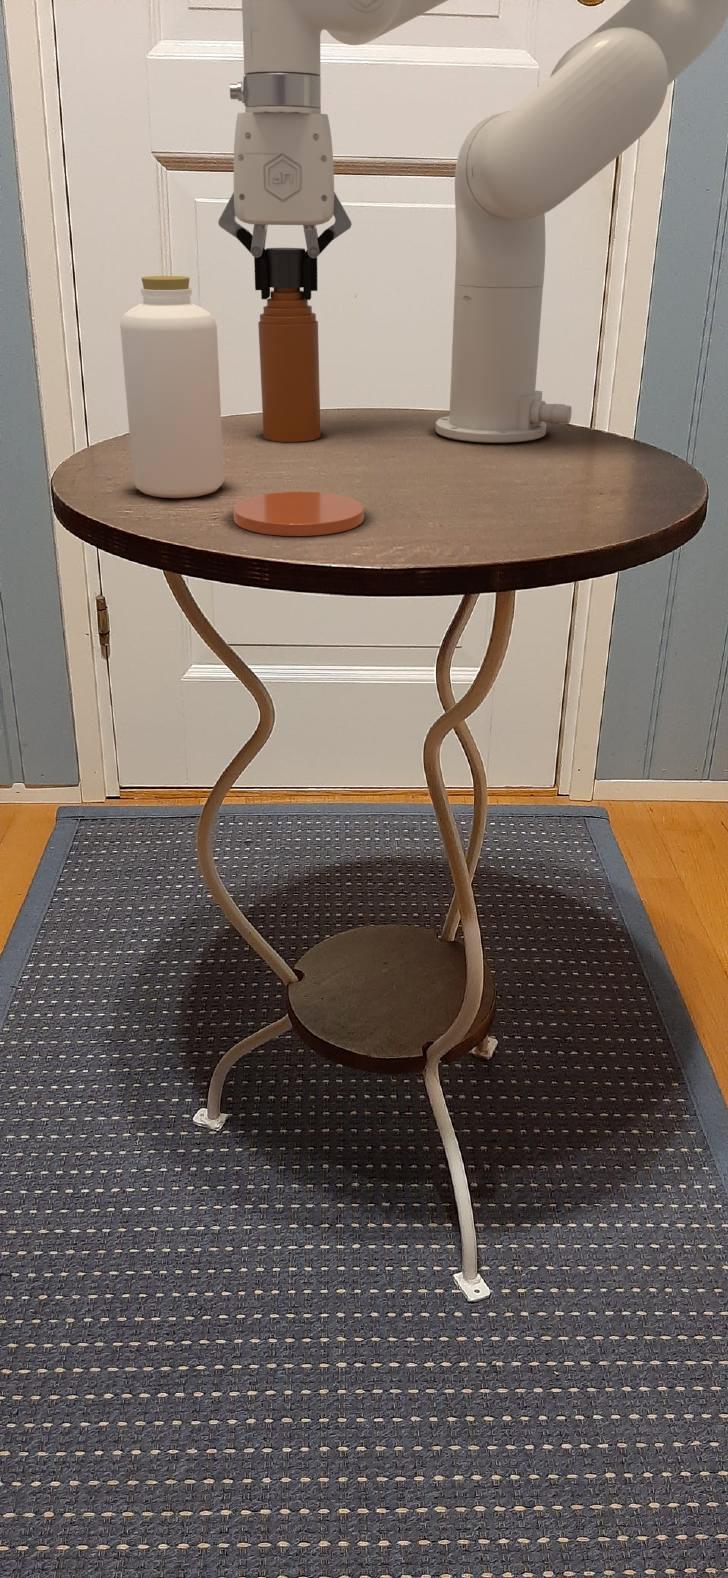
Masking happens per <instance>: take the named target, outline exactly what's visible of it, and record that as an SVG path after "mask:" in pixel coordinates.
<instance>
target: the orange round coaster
mask: <svg viewBox="0 0 728 1578" xmlns="http://www.w3.org/2000/svg"><path fill="white" fill-rule="evenodd" d="M232 509H233V510H232V511H233V522H234V523H235V524H236V525H237V526H238V527H240V528H241V529H244V530H247V531H250V532H254V533H257V534H258V533H259V534H264V535H270V536H279V537H280V536H281V537H312V536H313V537H314V536H315V537H316V536H325V535H332V534H338V533H342V532H345V531H350V530H352V529H355V528H357V527H359V526H360V525H362V523H363V522H364V520H365V507H364V505H363V504H362V503H361V501H358V500H357V499H354V498H351V497H348V496H344V495H340V494H335V493H329V492H328V493H326V492H316V491H315V492H314V491H286V492H285V491H284V492H283V491H282V492H272V493H266V494H259V495H255V496H250V497H248V498H244V499H242V500H240V501H237V503H235V504H234V506H233V508H232Z"/></svg>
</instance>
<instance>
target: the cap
mask: <svg viewBox="0 0 728 1578" xmlns="http://www.w3.org/2000/svg"><path fill="white" fill-rule="evenodd" d="M265 250H266V259H268V287H270V289H271V288H272V289H274V288H300V289H303V259H305V252H306V249H305V248H303V247H265Z"/></svg>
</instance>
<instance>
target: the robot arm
mask: <svg viewBox="0 0 728 1578" xmlns="http://www.w3.org/2000/svg"><path fill="white" fill-rule="evenodd" d="M448 1H449V0H241V8H242V9H241V12H242V13H241V14H242V15H241V16H242V43H243V44H242V45H243V49H242V50H243V74H244V75H243V77H242V78H243V79H241V80H240V82H237V83H229V97H230V98H229V99H230V100H237V101H238V102H241V103H242V104H244V105H243V106H244V107H245V108H244V109H245V110H244V111H245V112H238V113H237V115H236V123H235V130H234V144H233V192H232V194H231V196H230V198H229V200H228V202H227V204H226V206H225V208H224V210H223V212H222V213H221V214H220V217H219V218H218V222H217V223H218V226H219V228H221V229H223V230H224V231H225V232H227V233H228V234H230V235H231V236H232V237H234V238H235V239H237V240H238V241H239V242H240V243H241V244H242V245H243V247H244V248H245V249H246V250H247V251H248V252H249V253H250V254H251V256H252V257H253V263H254V265H253V266H254V267H253V268H254V289H255V291H260V295H261V297H260V298H261V300H267V299H269V298H271V287H268V259H266V242H267V241H266V240H267V234H268V227H269V226H303V233H304V238H305V246H306V250H305V259H303V288H302V291H303V298H304V299H305V300H308V301H310V300H312V292H318V257H319V256H320V254H321V253H323V251H324V250H326V248H327V247H328V246H329V245H330V244H331V242H332V241H334V240H335V239H336V238H339V236H341V235H342V234H344V233H345V232H347V231H348V230H350V229H351V228H352V226H353V225H352V220H351V218H350V217H349V215H348V214H347V211H346V209H345V208H344V206H343V204H342V203H341V201H340V199H339V197H338V195H337V194H336V192H335V170H334V154H333V153H334V151H333V150H334V149H333V139H332V132H331V125H330V119H329V114H326V113H322V109H321V108H322V97H321V96H322V84H321V83H322V81H321V80H322V77H321V35H322V34H321V33H322V31H323V30H324V31H327V33H328V34H329V35H330V36H331V37H332V38H333V39H334V40H336V41H337V42H340V43H342V44H344V45H348V46H360V45H365V44H368V43H370V42H372V41H375V40H376V39H378V38H379V37H381V36H383V35H385V34H387V33H389V32H390V31H391V32H392V31H393V30H394V29H396V28H399V27H400V26H402V25H404V24H405V23H408V22H410V21H411V20H414V19H415V18H418V17H419V16H421V15H423V14H425V13H427V12H429V11H430V10H432V9H435V8H436V7H438V6H440V5H442V4H444V3H445V2H448ZM727 19H728V0H628V2H626V4H625V5H623V6H622V7H621V8H620V9H618V11H617V12H616V13H614V14H613V15H611V17H610V18H609V19H607V20H606V21H605V22H604V23H602V24H601V25H600V26H599V27H597V29H595V30H594V31H593V32H591V33H590V34H589V35H587V36H586V37H585V38H583V39H582V40H580V41H579V42H577V43H576V44H573V46H572V47H571V48H569V49H568V50H567V51H566V52H565V53H564V54H563V56H561V58H560V59H559V60H558V61H557V64H556V65H555V67H554V68H553V70H552V71H551V73H550V76H549V78H547V79H546V80H545V81H544V82H543V83H542V84H540V85H539V87H537V88H536V89H535V90H534V91H532V92H531V93H530V94H529V95H528V96H527V97H525V98H524V99H523V100H522V101H521V102H519V104H517V105H516V106H515V107H514V108H512V109H511V110H508V111H504V112H500V113H496V114H492V115H490V116H488V117H486V118H485V119H483V120H481V121H479V122H478V123H477V124H475V126H473V128H472V129H471V130H470V131H469V132H468V134H467V135H466V137H465V139H464V141H463V143H462V144H461V147H460V149H459V152H458V154H457V159H456V164H455V171H454V205H455V206H454V207H455V208H454V209H455V229H456V230H455V233H456V234H455V272H454V292H453V293H454V295H453V296H454V297H453V319H452V321H453V322H452V341H451V342H452V344H451V346H452V347H451V368H450V371H451V372H450V394H449V395H450V396H449V415H447V416H443V417H440V418H438V419H437V420H436V421H435V424H434V425H435V427H434V428H435V432H436V433H437V434H438V435H439V436H442V437H445V438H447V439H452V440H456V441H457V440H458V441H462V442H463V441H464V442H472V443H490V444H491V443H492V444H493V443H494V444H498V443H499V444H505V443H507V444H509V443H523V442H529V441H535V440H538V439H541V438H543V437H545V435H547V428H548V427H547V426H548V425H547V423H553V424H561V425H569V424H570V423H571V419H572V414H573V413H572V409H573V408H572V405H566V404H564V403H546V401H545V400H543V390H536V387H537V386H536V385H537V374H538V372H537V371H538V360H539V359H538V358H539V347H540V346H539V345H540V333H541V318H542V307H543V305H542V303H543V290H544V280H545V269H546V214H547V213H548V212H550V211H552V210H553V209H555V208H556V207H557V206H559V205H560V204H562V203H563V202H564V201H566V200H567V199H568V198H570V197H571V196H572V195H573V194H574V193H576V192H577V191H578V190H579V189H580V188H581V187H583V186H584V185H585V184H587V183H588V182H589V181H591V179H592V178H594V177H595V176H597V174H599V173H600V172H601V171H602V170H604V169H605V168H606V167H607V166H608V165H609V164H611V163H612V162H613V161H614V160H616V159H617V158H618V157H619V156H620V155H621V154H622V153H624V152H625V151H626V150H628V149H629V148H630V147H631V146H632V145H633V144H635V142H637V141H638V140H639V139H640V138H641V137H642V136H643V135H644V134H645V133H646V132H647V131H648V129H650V127H651V126H652V125H653V124H654V121H655V120H656V119H657V117H658V115H660V114H659V113H660V112H661V110H662V108H663V106H664V103H665V99H666V96H667V92H668V86H669V85H670V84H671V83H673V82H674V81H675V80H676V79H677V78H678V77H679V76H680V75H681V74H682V73H683V72H684V71H685V70H687V69H688V68H689V67H690V66H691V65H692V64H693V63H695V61H696V60H698V59H699V58H700V57H701V56H702V55H703V54H704V53H705V52H706V51H707V50H708V49H709V48H710V46H712V44H713V43H714V41H715V40H716V38H718V36H719V34H720V33H721V31H722V29H723V28H724V26H725V24H726V22H727ZM333 217H334V219H335V220H334V222H333V224H332V225H330V226H329V227H327V228H326V229H324V230H323V231H322V233H321V234H320V235H318V228H317V226H318V225H323V224H325V223H328V222H329V221H330V220H331V219H332V218H333ZM236 218H237V219H236ZM237 220H238V221H240V222H242V223H244V224H248V225H253V228H252V229H253V231H252V233H251V232H250V231H249V230H248V229H247V228H245V227H244V226H243V225H241V224H240V223H238V222H237ZM546 422H547V423H546Z"/></svg>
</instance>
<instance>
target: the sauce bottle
mask: <svg viewBox="0 0 728 1578" xmlns="http://www.w3.org/2000/svg"><path fill="white" fill-rule="evenodd" d="M257 327H258V343H259V344H258V347H259V362H260V363H259V365H260V369H259V370H260V385H261V388H260V389H261V409H262V430H263V431H262V432H263V438H264V439H265V440H267V441H272V442H280V443H300V442H301V443H302V442H309V441H313V440H317V439H319V438H321V436H322V433H321V396H320V395H321V394H320V393H321V391H320V390H321V389H320V387H321V386H320V353H319V321H318V320H317V314H316V313H315V312H313V307H312V305H309V300H305V299H304V298H303V290H301V288H273V290H270V297H269V298H267V299H266V305H265V306H263V313H260V314H259V321H258V326H257Z"/></svg>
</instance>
